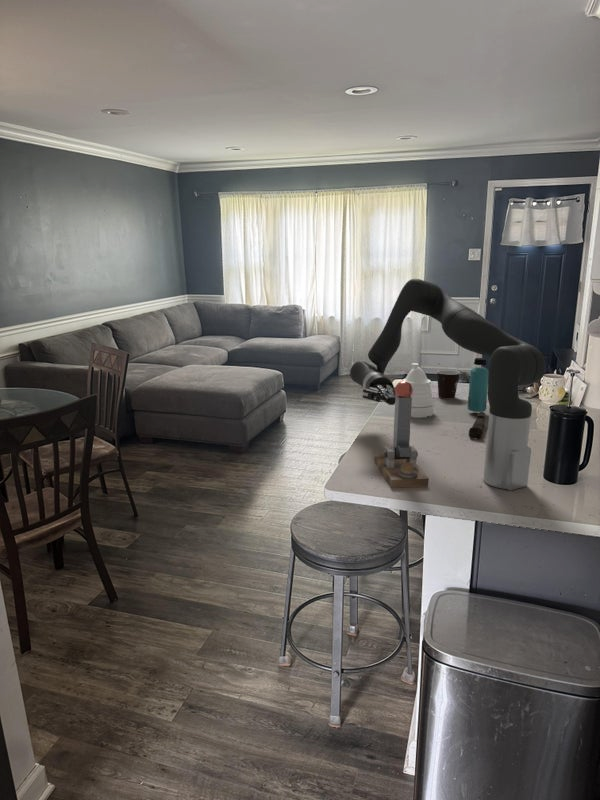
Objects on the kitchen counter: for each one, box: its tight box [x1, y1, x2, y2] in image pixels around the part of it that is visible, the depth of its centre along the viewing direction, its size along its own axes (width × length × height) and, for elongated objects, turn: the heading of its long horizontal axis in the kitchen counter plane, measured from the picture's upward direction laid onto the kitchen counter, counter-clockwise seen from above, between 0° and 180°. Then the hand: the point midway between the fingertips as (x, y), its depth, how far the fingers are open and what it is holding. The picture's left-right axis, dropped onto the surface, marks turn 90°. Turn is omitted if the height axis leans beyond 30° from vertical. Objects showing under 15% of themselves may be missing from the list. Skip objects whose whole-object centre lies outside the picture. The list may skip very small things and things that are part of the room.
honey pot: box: [401, 362, 435, 418], centre depth 192 cm, size 13×13×18 cm
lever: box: [392, 380, 413, 459], centre depth 133 cm, size 6×4×20 cm
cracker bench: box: [373, 445, 430, 489], centre depth 136 cm, size 18×9×6 cm, turn 5°
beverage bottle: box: [467, 357, 489, 413], centre depth 190 cm, size 6×7×20 cm
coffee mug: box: [436, 369, 460, 399], centre depth 215 cm, size 12×9×10 cm
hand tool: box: [468, 411, 486, 440], centre depth 172 cm, size 19×4×5 cm, turn 154°
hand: (392, 401), depth 143 cm, fingers closed
